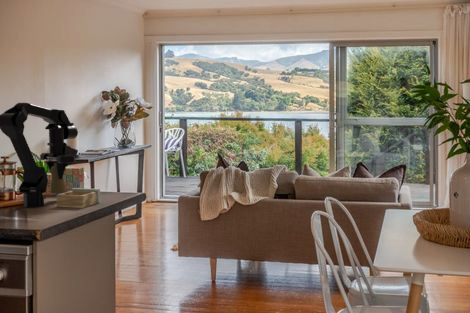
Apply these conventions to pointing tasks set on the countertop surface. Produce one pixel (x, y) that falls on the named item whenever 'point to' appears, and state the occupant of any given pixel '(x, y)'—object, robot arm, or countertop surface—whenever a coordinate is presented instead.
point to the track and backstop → (89, 191)
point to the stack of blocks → (68, 179)
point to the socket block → (76, 199)
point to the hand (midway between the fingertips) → (57, 178)
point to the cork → (57, 182)
